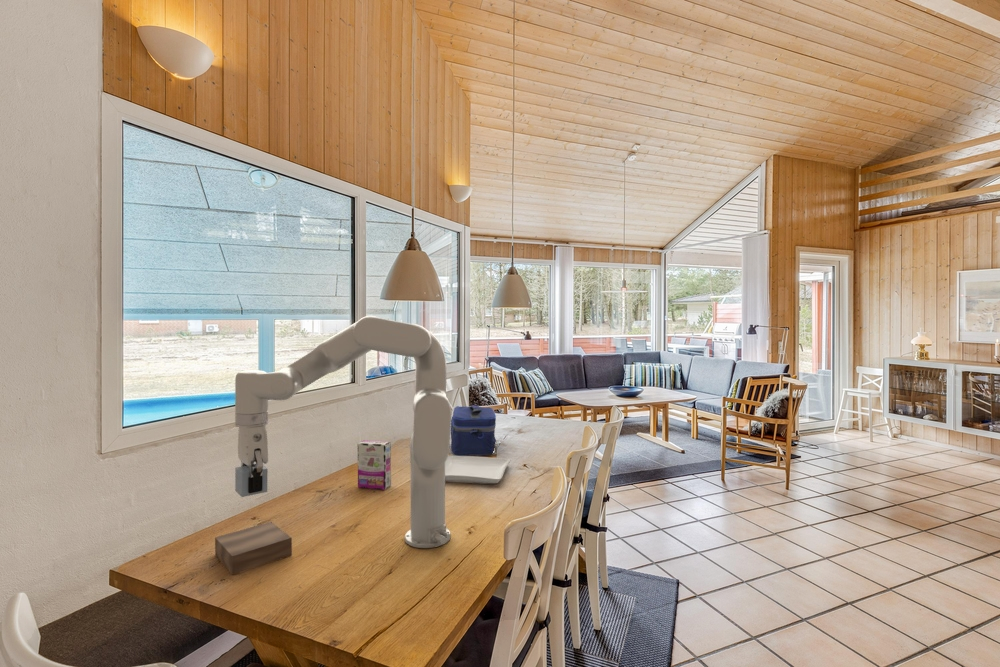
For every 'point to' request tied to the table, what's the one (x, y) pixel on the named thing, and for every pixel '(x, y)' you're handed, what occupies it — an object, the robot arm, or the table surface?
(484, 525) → the table surface
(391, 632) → the table surface
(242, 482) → the slate cube
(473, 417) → the lunch bag
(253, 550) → the walnut block
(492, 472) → the square plate
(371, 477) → the candy bar box
